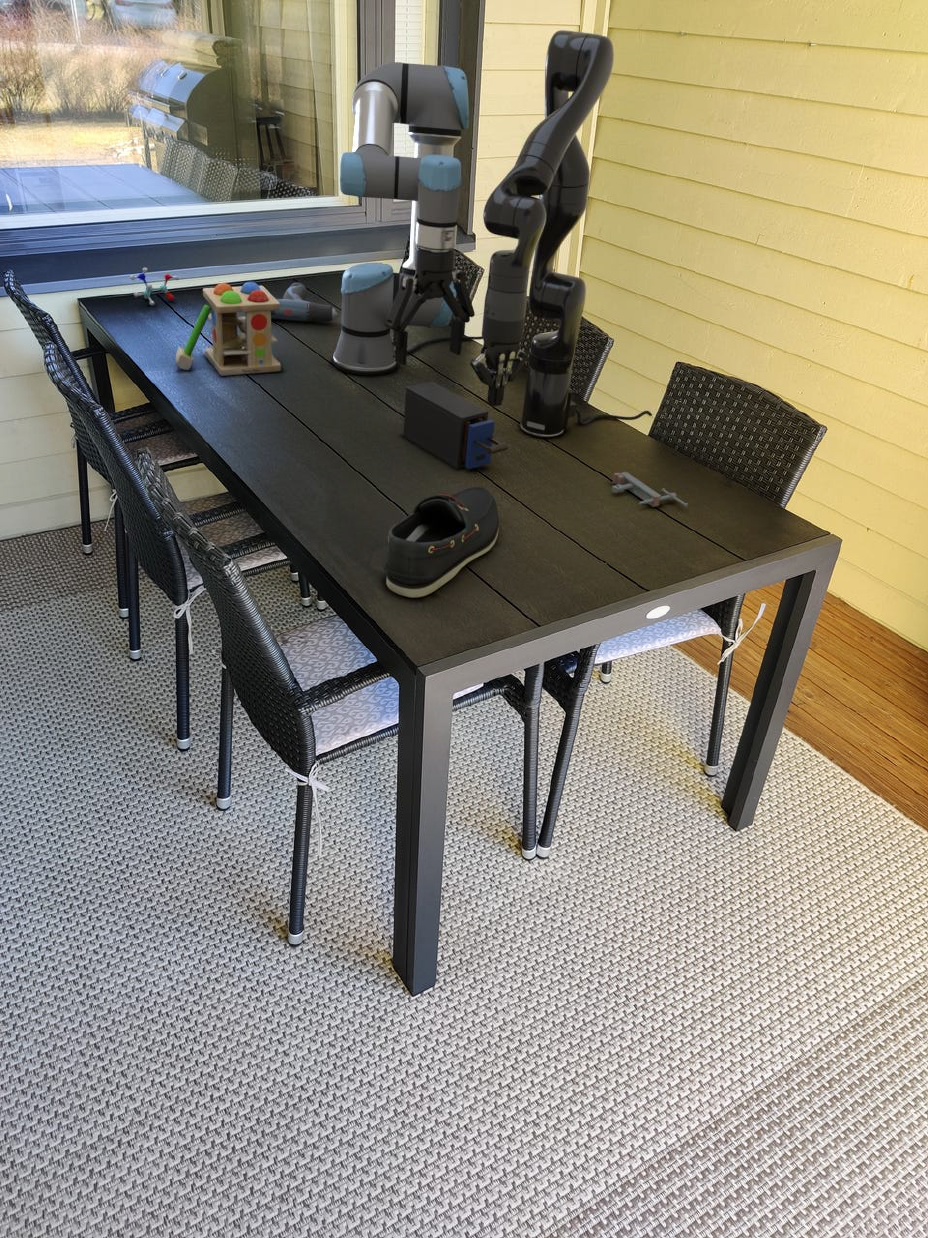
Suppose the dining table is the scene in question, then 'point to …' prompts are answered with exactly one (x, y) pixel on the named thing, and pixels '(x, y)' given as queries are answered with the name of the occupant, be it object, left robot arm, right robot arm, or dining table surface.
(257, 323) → the pounding bench toy
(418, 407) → the cabinet
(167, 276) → the molecular model
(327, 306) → the power drill
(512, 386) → the dining table surface
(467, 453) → the drawer
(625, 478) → the clamp
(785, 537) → the dining table surface
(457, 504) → the boat shoe
